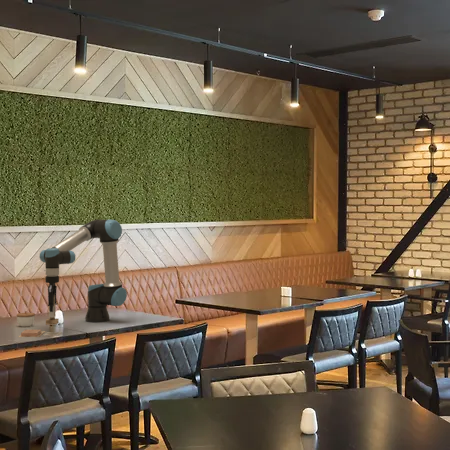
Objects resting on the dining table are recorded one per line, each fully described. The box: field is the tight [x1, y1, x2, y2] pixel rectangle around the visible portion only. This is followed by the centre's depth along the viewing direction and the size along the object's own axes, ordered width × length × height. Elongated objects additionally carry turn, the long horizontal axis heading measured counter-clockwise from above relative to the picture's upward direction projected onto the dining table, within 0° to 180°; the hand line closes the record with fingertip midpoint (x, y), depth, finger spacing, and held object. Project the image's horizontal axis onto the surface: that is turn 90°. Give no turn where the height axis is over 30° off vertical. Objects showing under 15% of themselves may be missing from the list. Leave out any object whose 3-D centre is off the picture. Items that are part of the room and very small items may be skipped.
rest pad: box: [42, 331, 62, 337], centre depth 414 cm, size 9×9×1 cm
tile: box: [20, 329, 43, 338], centre depth 412 cm, size 9×2×11 cm
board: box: [17, 330, 47, 338], centre depth 414 cm, size 12×18×1 cm, turn 2°
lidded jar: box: [16, 311, 36, 328], centre depth 441 cm, size 11×11×9 cm
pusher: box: [45, 295, 60, 326], centre depth 414 cm, size 6×6×16 cm
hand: (52, 316), depth 414 cm, fingers closed on pusher, 3 cm apart
